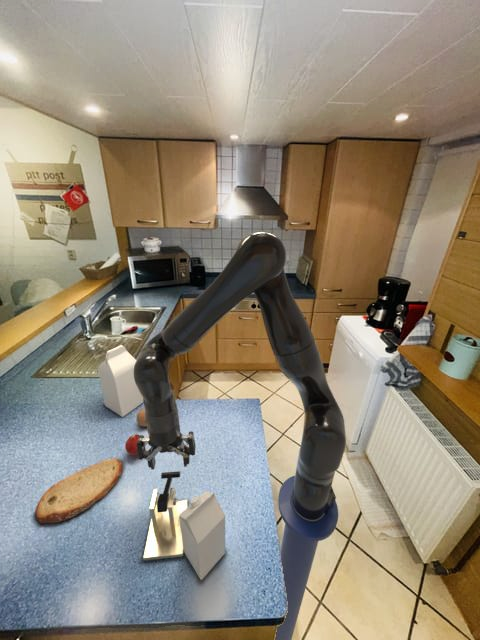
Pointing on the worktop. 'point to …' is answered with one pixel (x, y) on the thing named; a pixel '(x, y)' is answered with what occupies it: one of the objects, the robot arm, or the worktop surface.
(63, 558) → the worktop surface
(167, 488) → the switch lever
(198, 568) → the milk carton
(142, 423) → the egg
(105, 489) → the slice of bread
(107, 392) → the milk
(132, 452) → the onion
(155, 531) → the switch bracket
